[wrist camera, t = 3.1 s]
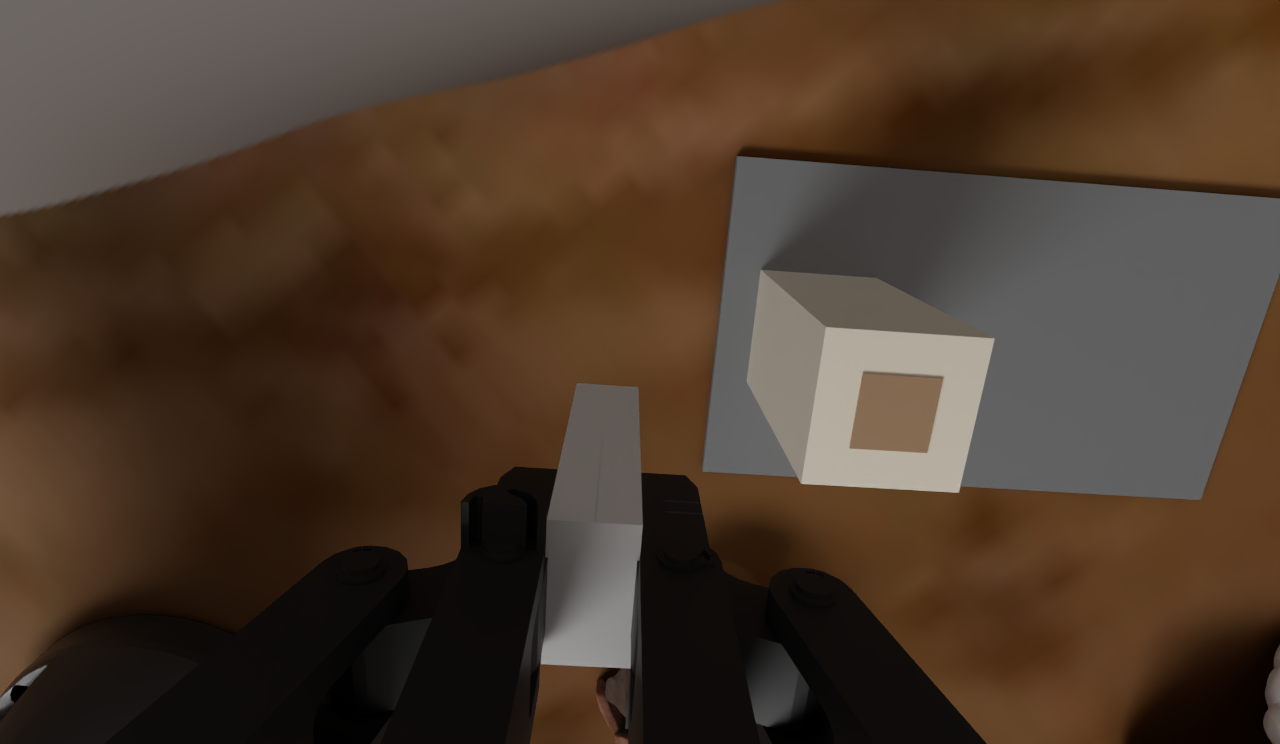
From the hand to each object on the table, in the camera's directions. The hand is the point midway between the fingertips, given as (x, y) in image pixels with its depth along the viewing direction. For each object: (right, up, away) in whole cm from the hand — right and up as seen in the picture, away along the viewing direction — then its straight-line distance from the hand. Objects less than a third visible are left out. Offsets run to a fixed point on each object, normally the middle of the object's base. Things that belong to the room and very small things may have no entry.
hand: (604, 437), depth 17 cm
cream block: (+8, +3, +13) cm, 16 cm away
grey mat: (+16, +3, +14) cm, 22 cm away
